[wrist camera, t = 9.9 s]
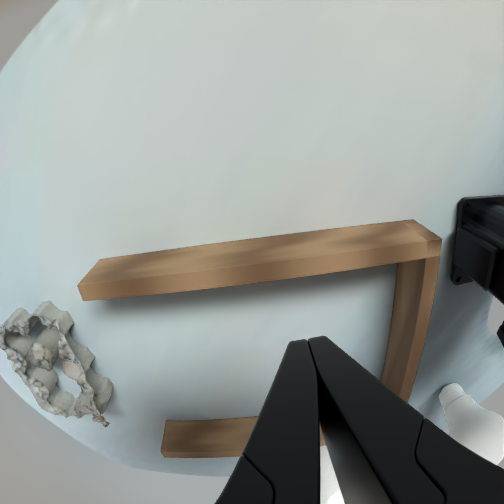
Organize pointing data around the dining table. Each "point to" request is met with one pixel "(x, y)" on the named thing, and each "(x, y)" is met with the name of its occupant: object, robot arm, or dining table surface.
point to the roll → (328, 480)
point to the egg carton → (45, 355)
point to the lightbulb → (473, 424)
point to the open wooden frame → (277, 268)
